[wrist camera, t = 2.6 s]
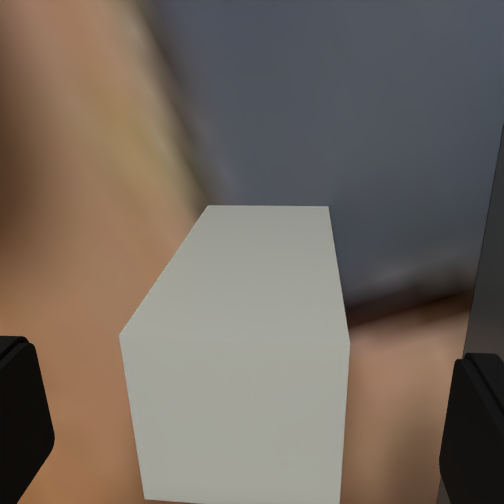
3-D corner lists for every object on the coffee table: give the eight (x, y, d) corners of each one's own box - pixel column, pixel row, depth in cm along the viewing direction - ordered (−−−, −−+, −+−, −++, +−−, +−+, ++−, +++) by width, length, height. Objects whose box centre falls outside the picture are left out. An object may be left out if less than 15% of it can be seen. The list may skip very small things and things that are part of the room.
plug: (207, 205, 15) (119, 334, 8) (327, 206, 15) (349, 344, 8) (214, 309, 17) (144, 499, 10) (323, 313, 17) (338, 514, 9)
